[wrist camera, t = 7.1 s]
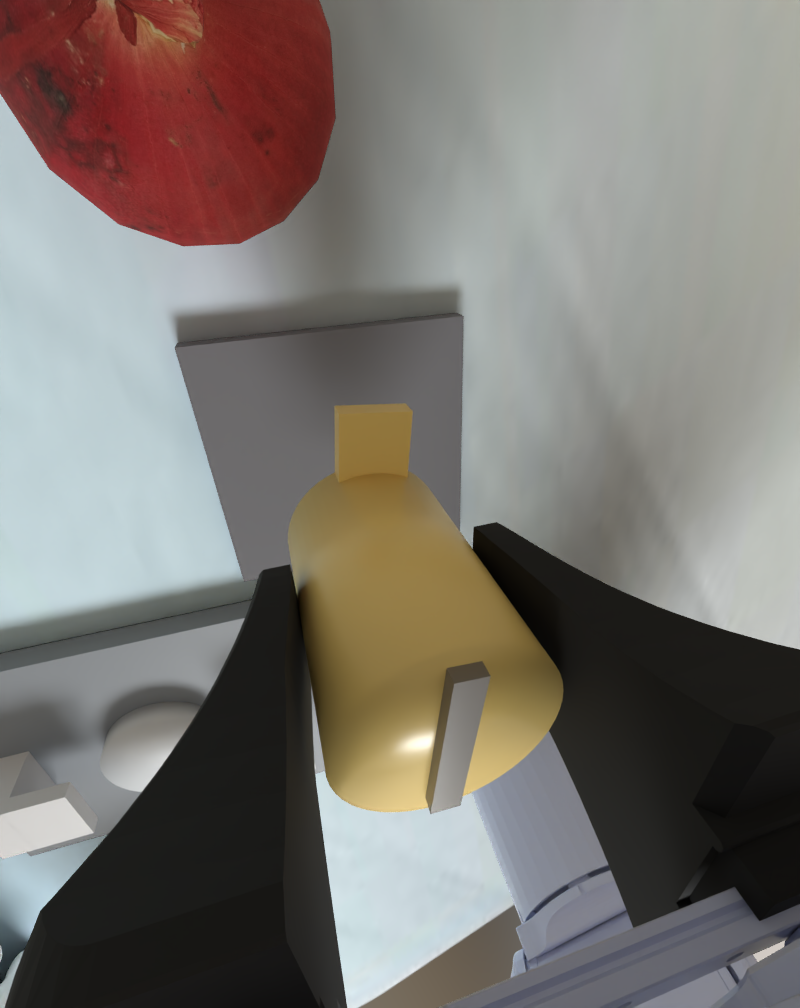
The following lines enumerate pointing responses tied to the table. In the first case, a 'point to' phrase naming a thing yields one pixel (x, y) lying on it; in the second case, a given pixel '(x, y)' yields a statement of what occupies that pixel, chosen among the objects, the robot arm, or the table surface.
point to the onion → (175, 107)
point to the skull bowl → (8, 979)
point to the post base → (102, 722)
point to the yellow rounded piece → (408, 633)
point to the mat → (318, 415)
